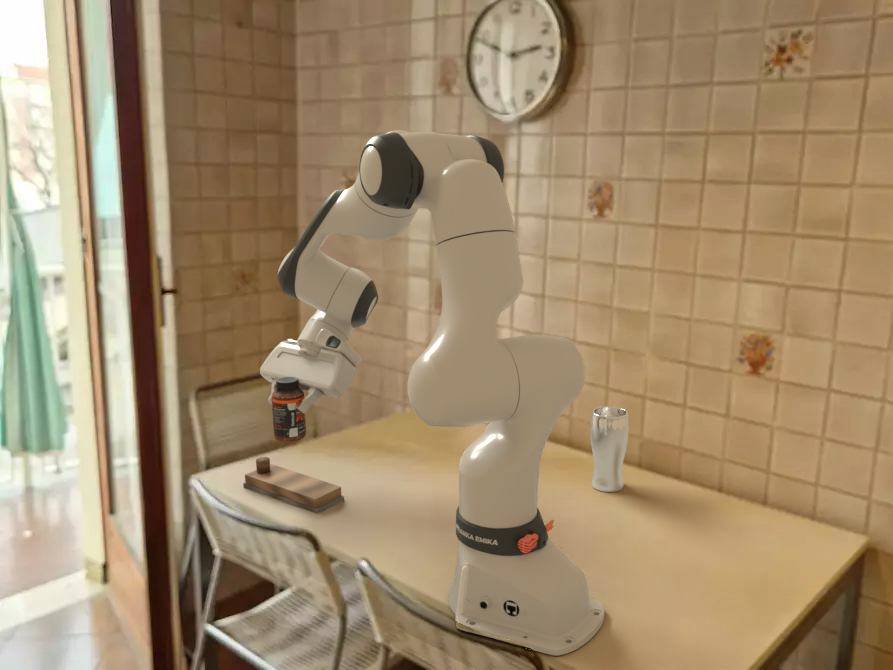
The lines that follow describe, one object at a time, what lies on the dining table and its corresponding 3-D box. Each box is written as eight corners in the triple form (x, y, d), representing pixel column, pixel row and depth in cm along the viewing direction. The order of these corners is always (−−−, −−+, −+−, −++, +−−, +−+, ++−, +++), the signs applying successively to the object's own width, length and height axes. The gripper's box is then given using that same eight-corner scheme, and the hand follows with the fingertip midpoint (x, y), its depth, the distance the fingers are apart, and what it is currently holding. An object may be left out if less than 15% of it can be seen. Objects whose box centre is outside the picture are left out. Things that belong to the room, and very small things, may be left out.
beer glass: (623, 479, 162) (626, 406, 159) (627, 494, 156) (631, 418, 152) (587, 477, 163) (590, 405, 160) (590, 492, 156) (592, 417, 153)
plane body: (344, 500, 154) (342, 475, 153) (317, 513, 149) (315, 487, 148) (271, 475, 166) (269, 451, 165) (243, 487, 161) (241, 462, 159)
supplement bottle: (303, 443, 152) (299, 384, 149) (270, 443, 152) (266, 384, 149) (309, 431, 158) (305, 374, 155) (278, 431, 158) (274, 374, 155)
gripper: (274, 329, 162) (238, 389, 157) (351, 343, 150) (315, 409, 145) (292, 346, 167) (258, 405, 161) (368, 361, 155) (334, 426, 149)
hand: (285, 407), depth 153 cm, fingers closed on supplement bottle, 6 cm apart
